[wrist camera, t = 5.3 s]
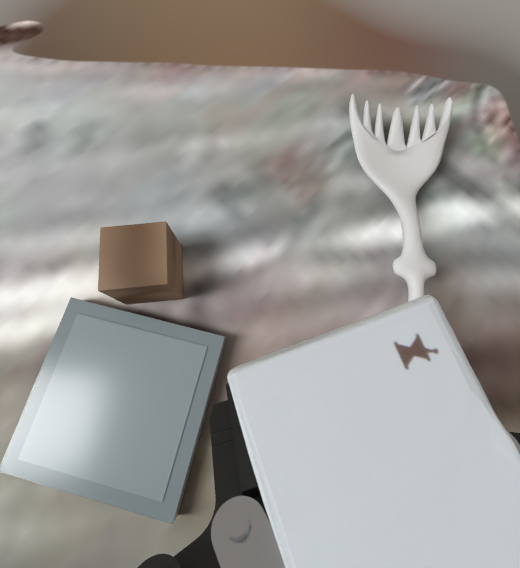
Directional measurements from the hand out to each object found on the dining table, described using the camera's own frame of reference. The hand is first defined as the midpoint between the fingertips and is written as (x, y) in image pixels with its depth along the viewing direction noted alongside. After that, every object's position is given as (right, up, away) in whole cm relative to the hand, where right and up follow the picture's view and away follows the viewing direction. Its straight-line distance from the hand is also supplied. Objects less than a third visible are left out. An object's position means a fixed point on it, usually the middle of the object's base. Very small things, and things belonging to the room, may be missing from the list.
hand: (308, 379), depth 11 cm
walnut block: (-10, +4, +14) cm, 18 cm away
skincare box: (+1, -3, +5) cm, 6 cm away
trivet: (-12, -5, +12) cm, 17 cm away
